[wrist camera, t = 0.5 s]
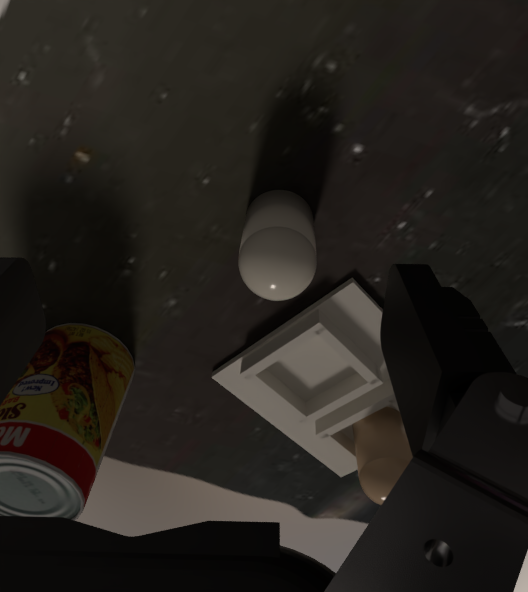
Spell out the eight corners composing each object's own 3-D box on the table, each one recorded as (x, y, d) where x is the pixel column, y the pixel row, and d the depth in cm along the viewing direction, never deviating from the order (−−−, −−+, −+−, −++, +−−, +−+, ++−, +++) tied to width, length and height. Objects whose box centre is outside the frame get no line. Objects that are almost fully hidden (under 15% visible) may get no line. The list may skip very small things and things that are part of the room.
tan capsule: (385, 398, 39) (401, 476, 33) (415, 426, 41) (435, 504, 35) (341, 421, 41) (350, 499, 35) (372, 447, 43) (384, 525, 37)
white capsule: (282, 175, 30) (280, 230, 24) (327, 224, 31) (335, 286, 25) (231, 218, 31) (217, 279, 25) (276, 262, 33) (273, 329, 27)
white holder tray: (352, 277, 33) (355, 295, 32) (475, 407, 40) (484, 428, 38) (212, 372, 39) (208, 392, 37) (340, 471, 46) (342, 492, 44)
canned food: (58, 305, 36) (-29, 436, 26) (151, 353, 38) (104, 489, 29) (23, 367, 40) (-64, 500, 30) (110, 407, 42) (56, 543, 33)
